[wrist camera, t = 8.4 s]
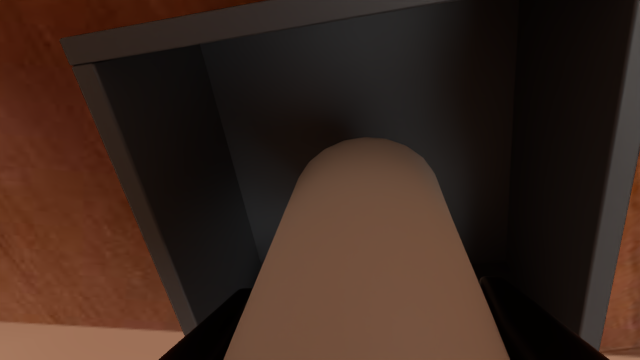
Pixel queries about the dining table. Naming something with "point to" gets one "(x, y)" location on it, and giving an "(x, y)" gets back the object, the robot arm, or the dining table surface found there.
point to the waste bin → (377, 130)
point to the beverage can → (367, 268)
